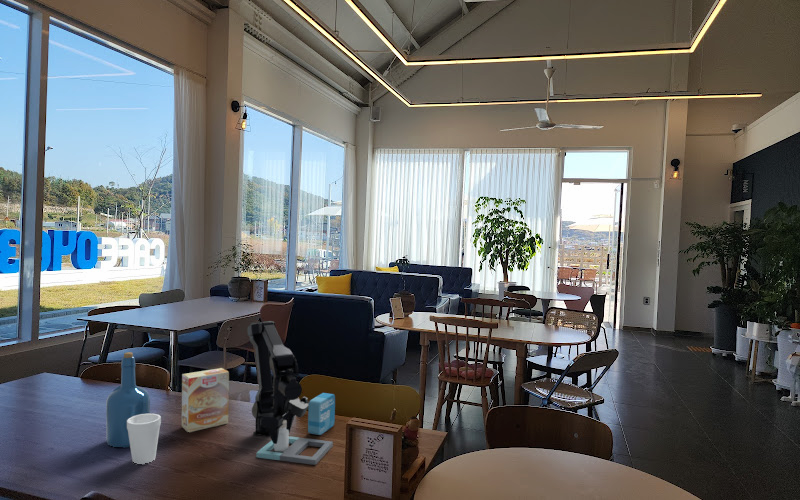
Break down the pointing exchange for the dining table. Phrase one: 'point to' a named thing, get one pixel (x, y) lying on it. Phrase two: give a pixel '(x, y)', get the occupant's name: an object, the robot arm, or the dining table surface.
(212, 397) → the coffeecake box
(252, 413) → the robot arm
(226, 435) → the dining table surface
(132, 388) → the wine bottle
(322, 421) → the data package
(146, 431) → the foam cup
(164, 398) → the dining table surface
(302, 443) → the panel
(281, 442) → the white salt shaker
